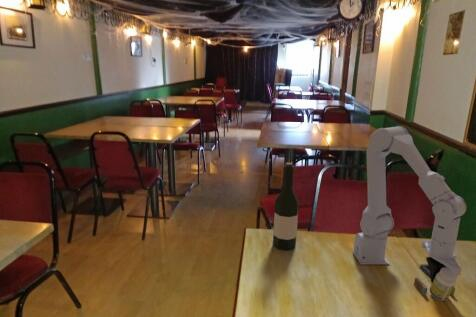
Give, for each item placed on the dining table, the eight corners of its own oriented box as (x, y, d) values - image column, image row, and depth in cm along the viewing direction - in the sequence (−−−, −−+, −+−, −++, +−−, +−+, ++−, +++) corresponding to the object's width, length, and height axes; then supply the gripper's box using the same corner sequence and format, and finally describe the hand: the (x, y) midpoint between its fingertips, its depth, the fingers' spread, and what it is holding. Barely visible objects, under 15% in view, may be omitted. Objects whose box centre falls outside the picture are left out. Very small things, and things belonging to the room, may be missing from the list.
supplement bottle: (443, 287, 97) (454, 267, 92) (451, 302, 93) (462, 281, 88) (426, 285, 97) (436, 265, 93) (432, 300, 93) (443, 279, 89)
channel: (423, 295, 95) (424, 288, 94) (413, 284, 100) (415, 277, 99) (453, 295, 95) (455, 288, 94) (442, 284, 100) (444, 277, 99)
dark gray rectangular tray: (430, 278, 103) (431, 275, 102) (419, 267, 109) (420, 264, 108) (450, 278, 103) (450, 275, 103) (438, 267, 109) (438, 264, 108)
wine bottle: (270, 239, 125) (274, 160, 117) (292, 238, 126) (297, 160, 118) (275, 251, 117) (279, 167, 109) (299, 250, 118) (305, 166, 110)
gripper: (476, 253, 86) (466, 299, 90) (441, 227, 100) (434, 268, 104) (449, 253, 86) (440, 299, 89) (418, 227, 100) (411, 268, 103)
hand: (435, 282), depth 96 cm, fingers closed, pressing on supplement bottle
